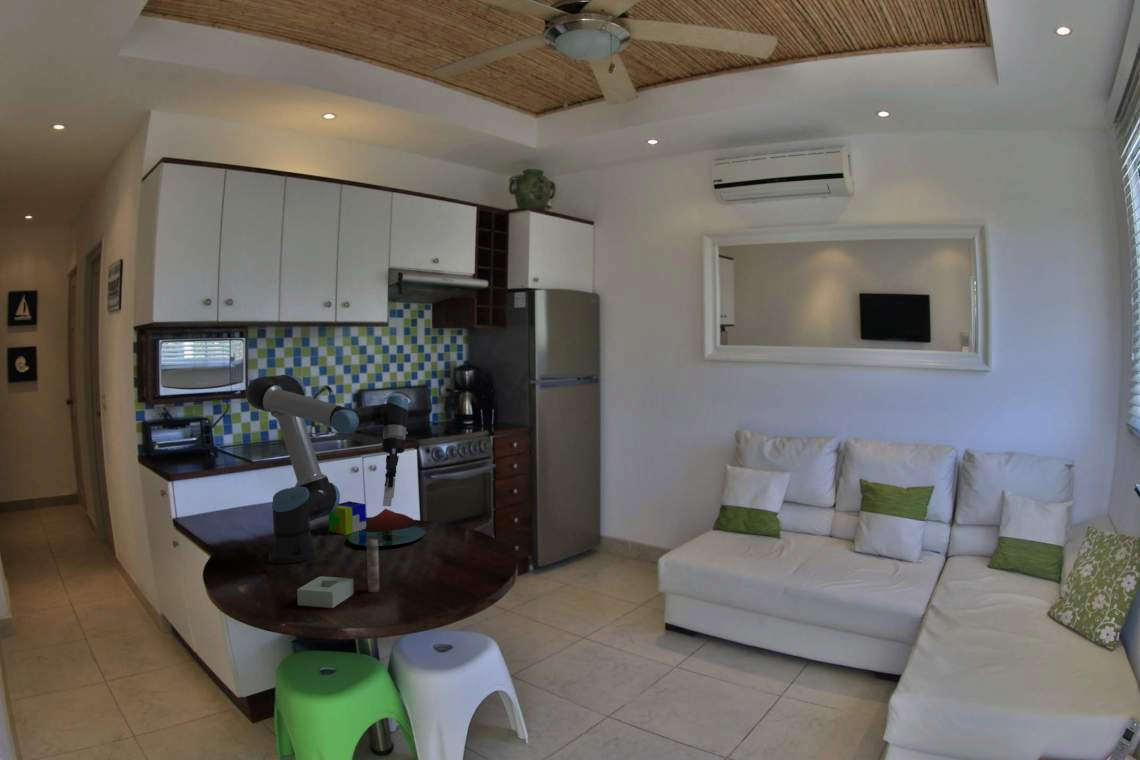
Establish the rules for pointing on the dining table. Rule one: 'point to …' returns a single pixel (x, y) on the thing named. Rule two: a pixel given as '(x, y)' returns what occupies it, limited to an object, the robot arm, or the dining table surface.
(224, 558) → the dining table surface
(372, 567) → the tan cylinder
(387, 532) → the red and teal hat
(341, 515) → the puzzle toy
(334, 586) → the grey square-hole block
